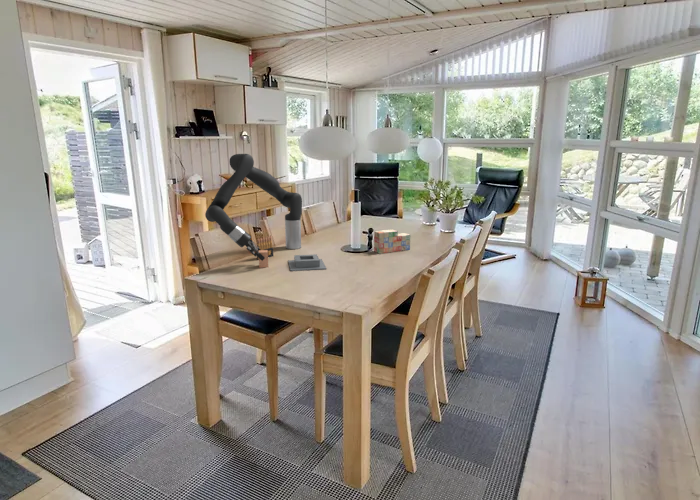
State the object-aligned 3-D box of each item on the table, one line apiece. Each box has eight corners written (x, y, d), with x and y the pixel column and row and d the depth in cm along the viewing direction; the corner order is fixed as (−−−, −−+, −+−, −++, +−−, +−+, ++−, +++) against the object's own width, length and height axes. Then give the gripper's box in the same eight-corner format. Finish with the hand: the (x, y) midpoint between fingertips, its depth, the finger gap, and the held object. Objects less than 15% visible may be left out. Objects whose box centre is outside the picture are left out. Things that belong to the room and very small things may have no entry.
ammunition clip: (259, 260, 240) (258, 238, 237) (256, 259, 241) (255, 238, 238) (273, 256, 248) (272, 235, 245) (271, 255, 249) (270, 234, 246)
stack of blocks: (404, 247, 270) (405, 228, 267) (410, 250, 264) (410, 229, 261) (373, 251, 261) (374, 230, 258) (379, 253, 255) (379, 232, 252)
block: (259, 265, 230) (258, 250, 228) (268, 264, 230) (267, 250, 228) (259, 267, 225) (258, 252, 223) (268, 267, 226) (267, 252, 224)
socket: (288, 261, 237) (288, 254, 236) (321, 260, 240) (321, 252, 239) (290, 271, 220) (290, 263, 219) (326, 269, 223) (326, 261, 222)
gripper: (244, 233, 215) (269, 255, 220) (245, 228, 228) (268, 248, 233) (233, 244, 215) (258, 266, 220) (235, 238, 229) (258, 258, 234)
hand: (263, 257), depth 227 cm, fingers open, 8 cm apart
